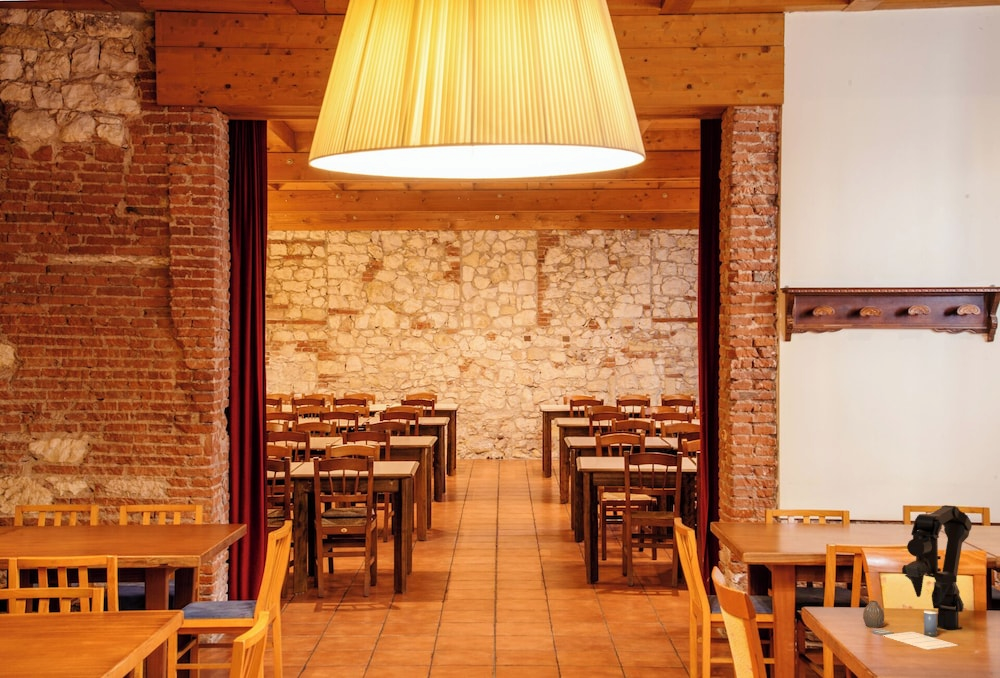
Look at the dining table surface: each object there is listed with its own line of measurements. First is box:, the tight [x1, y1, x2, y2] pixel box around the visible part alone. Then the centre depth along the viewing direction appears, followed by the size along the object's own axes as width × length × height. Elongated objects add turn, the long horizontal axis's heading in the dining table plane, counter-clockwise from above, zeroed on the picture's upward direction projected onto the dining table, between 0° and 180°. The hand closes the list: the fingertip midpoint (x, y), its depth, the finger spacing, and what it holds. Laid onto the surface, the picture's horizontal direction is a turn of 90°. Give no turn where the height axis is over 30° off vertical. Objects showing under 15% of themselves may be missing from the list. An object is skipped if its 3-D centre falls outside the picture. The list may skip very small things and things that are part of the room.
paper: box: [882, 631, 959, 651], centre depth 340 cm, size 13×19×1 cm
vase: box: [862, 600, 885, 629], centre depth 360 cm, size 7×7×9 cm
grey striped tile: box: [869, 628, 895, 636], centre depth 350 cm, size 6×5×1 cm
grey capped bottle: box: [923, 609, 938, 638], centre depth 347 cm, size 4×4×8 cm
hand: (929, 599), depth 348 cm, fingers open, 9 cm apart
